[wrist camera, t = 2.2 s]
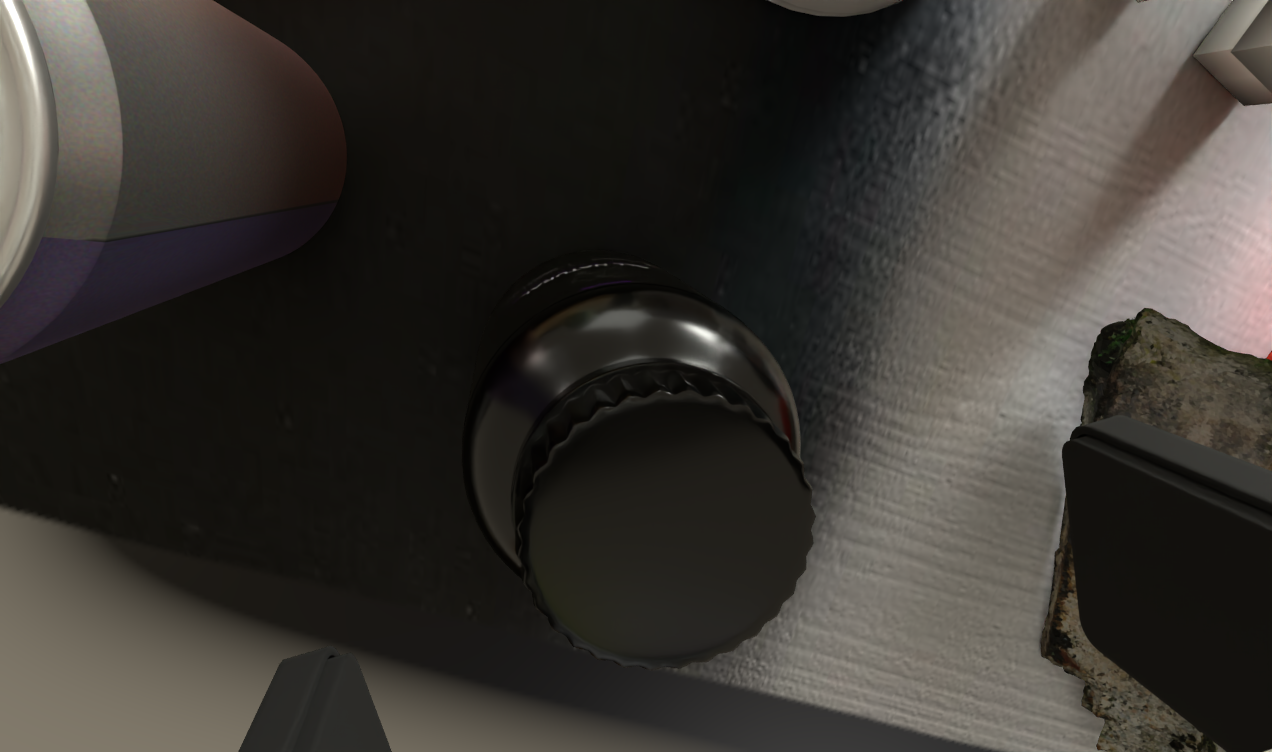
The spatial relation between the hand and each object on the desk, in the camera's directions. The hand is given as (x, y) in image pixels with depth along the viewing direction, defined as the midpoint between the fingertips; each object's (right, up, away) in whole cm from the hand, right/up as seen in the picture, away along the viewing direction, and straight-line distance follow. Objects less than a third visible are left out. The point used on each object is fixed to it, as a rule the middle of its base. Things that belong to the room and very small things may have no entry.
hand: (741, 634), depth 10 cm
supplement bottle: (-3, +4, +14) cm, 15 cm away
